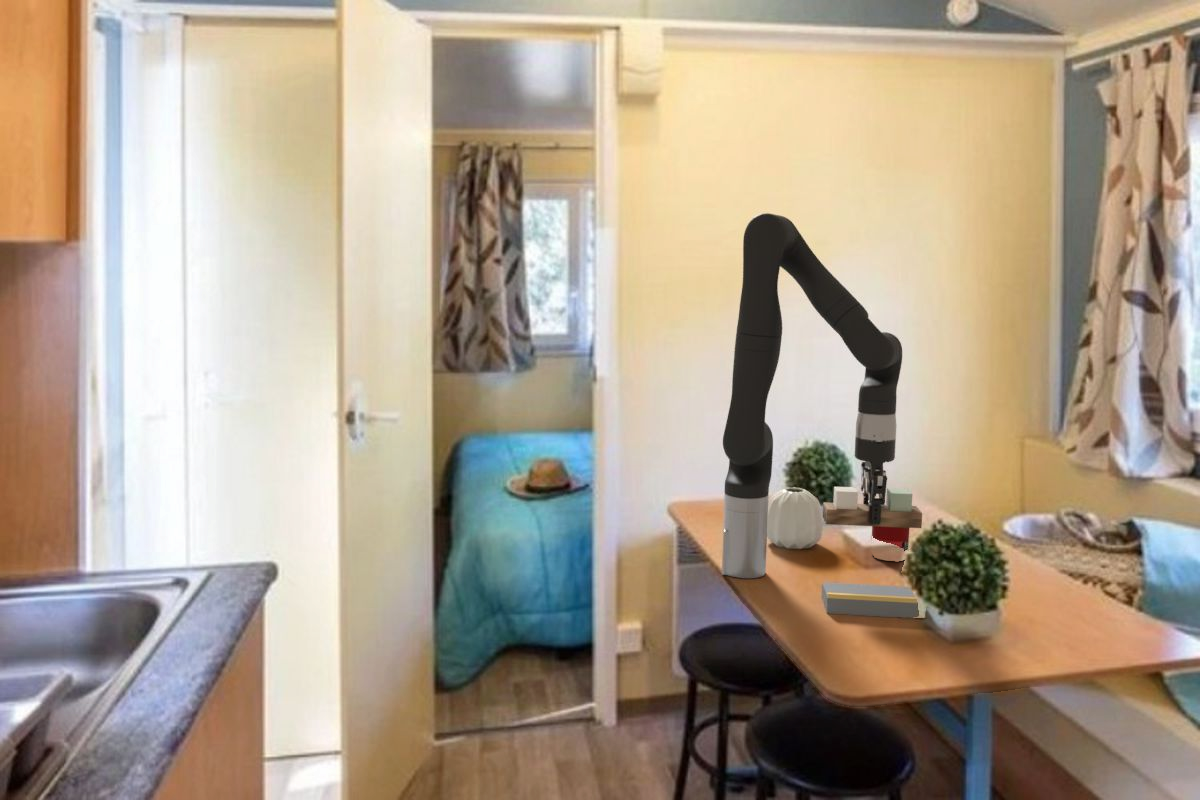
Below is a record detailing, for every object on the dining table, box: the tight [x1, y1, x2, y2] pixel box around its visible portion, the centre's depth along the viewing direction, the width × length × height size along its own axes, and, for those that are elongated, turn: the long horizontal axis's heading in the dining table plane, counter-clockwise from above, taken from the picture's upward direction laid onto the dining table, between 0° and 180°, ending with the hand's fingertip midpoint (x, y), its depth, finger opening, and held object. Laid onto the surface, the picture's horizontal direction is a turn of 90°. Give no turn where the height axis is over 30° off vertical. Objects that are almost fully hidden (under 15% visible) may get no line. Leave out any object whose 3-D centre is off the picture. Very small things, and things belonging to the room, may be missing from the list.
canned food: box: [871, 526, 910, 551], centre depth 202 cm, size 8×8×11 cm
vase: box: [767, 486, 824, 550], centre depth 211 cm, size 14×14×13 cm
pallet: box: [822, 501, 923, 529], centre depth 176 cm, size 18×6×3 cm, turn 83°
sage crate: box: [885, 487, 913, 512], centre depth 175 cm, size 4×4×4 cm
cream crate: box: [832, 486, 859, 510], centre depth 176 cm, size 4×4×4 cm
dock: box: [821, 581, 919, 619], centre depth 171 cm, size 18×9×4 cm, turn 82°
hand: (871, 519), depth 176 cm, fingers closed on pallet, 5 cm apart
